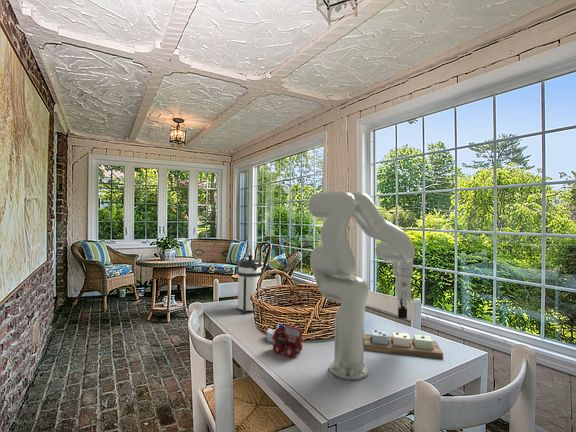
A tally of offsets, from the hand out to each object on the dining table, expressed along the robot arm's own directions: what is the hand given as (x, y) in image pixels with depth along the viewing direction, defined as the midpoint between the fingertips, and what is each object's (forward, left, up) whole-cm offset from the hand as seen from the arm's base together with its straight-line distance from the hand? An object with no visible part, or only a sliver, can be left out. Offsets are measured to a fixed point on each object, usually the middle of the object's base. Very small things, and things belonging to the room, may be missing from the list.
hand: (402, 317), depth 126 cm
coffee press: (+29, +76, -12) cm, 82 cm away
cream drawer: (-1, 0, -10) cm, 10 cm away
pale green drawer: (-1, -8, -10) cm, 12 cm away
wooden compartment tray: (-1, 0, -12) cm, 12 cm away
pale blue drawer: (-1, +8, -10) cm, 13 cm away
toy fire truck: (-18, +42, -12) cm, 47 cm away
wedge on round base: (-6, +47, -12) cm, 49 cm away
